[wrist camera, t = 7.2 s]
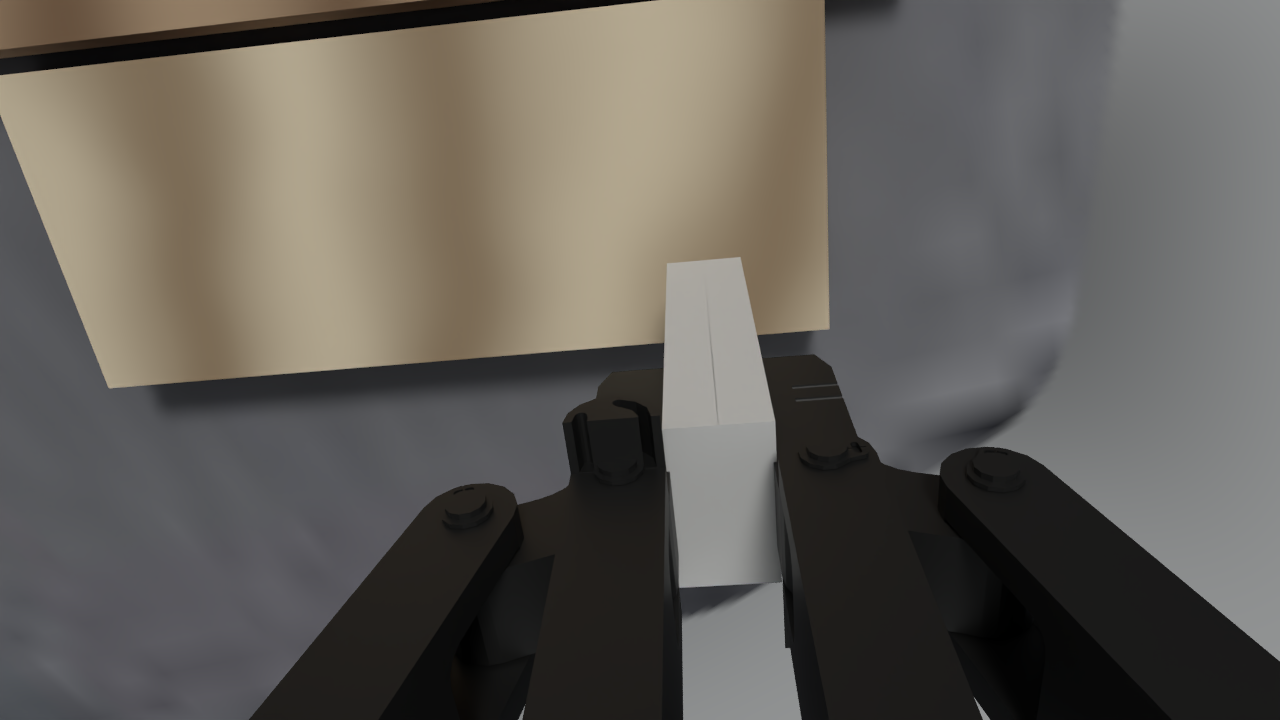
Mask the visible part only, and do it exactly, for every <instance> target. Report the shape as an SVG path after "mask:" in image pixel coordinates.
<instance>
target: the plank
mask: <svg viewBox="0 0 1280 720" xmlns="http://www.w3.org/2000/svg"><path fill="white" fill-rule="evenodd" d="M0 115H1V118H2V121H3V123H4V126H5V128H6V131H7V133H8V136H9V138H10V141H11V143H12V146H13V148H14V151H15V153H16V156H17V158H18V161H19V163H20V166H21V168H22V171H23V173H24V176H25V178H26V181H27V183H28V186H29V189H30V191H31V194H32V196H33V199H34V201H35V204H36V206H37V209H38V211H39V214H40V216H41V219H42V221H43V224H44V226H45V229H46V231H47V234H48V236H49V239H50V241H51V244H52V246H53V249H54V251H55V254H56V256H57V259H58V262H59V264H60V267H61V269H62V272H63V274H64V277H65V279H66V282H67V284H68V287H69V289H70V292H71V294H72V297H73V299H74V302H75V304H76V307H77V309H78V312H79V314H80V317H81V319H82V322H83V324H84V327H85V330H86V332H87V335H88V337H89V340H90V342H91V345H92V347H93V350H94V352H95V355H96V357H97V360H98V362H99V365H100V367H101V370H102V372H103V375H104V377H105V380H106V382H107V385H108V387H109V388H119V387H131V386H143V385H155V384H167V383H180V382H192V381H204V380H216V379H228V378H240V377H253V376H265V375H277V374H289V373H301V372H313V371H326V370H338V369H350V368H362V367H374V366H386V365H399V364H411V363H423V362H435V361H447V360H459V359H472V358H484V357H496V356H508V355H520V354H532V353H545V352H557V351H569V350H581V349H593V348H605V347H618V346H630V345H642V344H654V343H665V310H666V277H667V263H677V262H689V261H700V260H712V259H723V258H734V257H740V258H741V262H742V267H743V272H744V276H745V281H746V286H747V290H748V295H749V300H750V305H751V309H752V314H753V319H754V323H755V328H756V333H757V335H763V334H776V333H788V332H800V331H812V330H824V329H829V271H828V203H827V135H826V67H825V0H656V1H647V2H639V3H630V4H621V5H612V6H603V7H595V8H586V9H577V10H568V11H560V12H551V13H542V14H533V15H525V16H516V17H507V18H498V19H490V20H481V21H472V22H463V23H455V24H446V25H437V26H428V27H419V28H411V29H402V30H393V31H384V32H376V33H367V34H358V35H349V36H341V37H332V38H323V39H314V40H306V41H297V42H288V43H279V44H271V45H262V46H253V47H244V48H236V49H227V50H218V51H209V52H200V53H192V54H183V55H174V56H165V57H157V58H148V59H139V60H130V61H122V62H113V63H104V64H95V65H87V66H78V67H69V68H60V69H52V70H43V71H34V72H25V73H16V74H8V75H0Z"/></svg>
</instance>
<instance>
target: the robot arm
mask: <svg viewBox="0 0 1280 720" xmlns="http://www.w3.org/2000/svg"><path fill="white" fill-rule="evenodd" d="M562 424H563V430H564V435H565V441H566V447H567V453H568V459H569V465H570V471H571V477H570V482H569V486H567V487H566V488H564V489H563V490H561V491H559V492H557V493H555V494H553V495H550V496H547V497H544V498H541V499H538V500H534V501H531V502H527V503H523V504H520V505H517V502H516V499H515V496H514V494H513V493H512V492H510V491H509V490H508V489H506V488H505V487H503V486H498V485H494V484H490V483H486V484H470V485H464V486H460V487H457V488H454V489H452V490H450V491H448V492H446V493H444V494H442V495H440V496H438V497H436V498H435V499H434V500H432V501H431V502H430V503H429V504H428V505H427V506H425V507H424V508H423V510H422V511H421V512H420V513H419V514H418V516H417V517H416V518H415V519H414V520H413V522H412V523H411V524H410V525H409V526H408V528H407V529H406V530H405V531H404V533H403V534H402V535H401V536H400V537H399V539H398V540H397V541H396V542H395V543H394V545H393V546H392V547H391V548H390V550H389V551H388V552H387V553H386V554H385V556H384V557H383V558H382V559H381V560H380V562H379V563H378V564H377V565H376V566H375V568H374V569H373V570H372V571H371V573H370V574H369V575H368V576H367V577H366V579H365V580H364V581H363V582H362V583H361V585H360V586H359V587H358V588H357V590H356V591H355V592H354V593H353V594H352V596H351V597H350V598H349V599H348V600H347V602H346V603H345V604H344V605H343V606H342V608H341V609H340V610H339V611H338V613H337V614H336V615H335V616H334V617H333V619H332V620H331V621H330V622H329V623H328V625H327V626H326V627H325V628H324V629H323V631H322V632H321V633H320V634H319V636H318V637H317V638H316V639H315V640H314V642H313V643H312V644H311V645H310V646H309V648H308V649H307V650H306V651H305V653H304V654H303V655H302V656H301V657H300V659H299V660H298V661H297V662H296V663H295V665H294V666H293V667H292V668H291V669H290V671H289V672H288V673H287V674H286V676H285V677H284V678H283V679H282V680H281V682H280V683H279V684H278V685H277V686H276V688H275V689H274V690H273V691H272V692H271V694H270V695H269V696H268V697H267V699H266V700H265V701H264V702H263V703H262V705H261V706H260V707H259V708H258V709H257V711H256V712H255V713H254V714H253V716H252V717H251V718H250V719H249V720H518V719H519V716H520V714H521V712H522V710H523V708H524V706H525V710H524V715H523V720H683V677H682V611H681V602H680V593H679V588H686V587H704V586H722V585H740V584H758V583H777V582H782V578H781V571H782V577H783V600H784V626H785V648H790V649H791V655H792V661H793V668H794V674H795V680H796V686H797V692H798V699H799V705H800V711H801V717H802V720H983V719H982V716H981V714H980V711H979V709H978V706H977V704H976V702H975V699H976V700H977V702H978V703H979V704H980V706H981V707H982V708H983V710H984V711H985V713H986V714H987V716H988V717H989V718H990V720H1280V661H1278V660H1277V659H1276V658H1275V657H1274V656H1272V655H1271V654H1270V653H1269V652H1268V651H1266V650H1265V649H1264V648H1263V647H1262V646H1260V645H1259V644H1258V643H1257V642H1255V641H1254V640H1253V639H1252V638H1250V636H1248V635H1247V634H1246V633H1245V632H1243V631H1242V630H1241V629H1240V628H1238V627H1237V626H1236V625H1235V624H1234V623H1233V622H1231V621H1230V620H1229V619H1228V618H1227V617H1225V616H1224V615H1223V614H1222V613H1221V612H1219V611H1218V610H1217V609H1216V608H1215V607H1213V606H1212V605H1211V604H1210V603H1209V602H1207V601H1206V600H1205V599H1204V598H1203V597H1201V596H1200V595H1199V594H1198V593H1197V592H1195V591H1194V590H1193V589H1192V588H1191V587H1189V586H1188V585H1187V584H1186V583H1185V582H1183V581H1182V580H1181V579H1180V578H1178V577H1177V576H1176V575H1175V574H1174V573H1172V572H1171V571H1170V570H1169V569H1168V568H1166V567H1165V566H1164V565H1163V564H1162V563H1160V562H1159V561H1158V560H1157V559H1156V558H1154V557H1153V556H1152V555H1151V554H1150V553H1148V552H1147V551H1146V550H1145V549H1144V548H1142V547H1141V546H1140V545H1139V544H1138V543H1136V542H1135V541H1134V540H1133V539H1132V538H1130V537H1129V536H1128V535H1127V534H1125V533H1124V532H1123V531H1122V530H1121V529H1119V528H1118V527H1117V526H1116V525H1115V524H1113V523H1112V522H1111V521H1110V520H1108V519H1107V518H1106V517H1105V516H1104V515H1103V514H1101V513H1100V512H1099V511H1098V510H1097V509H1095V508H1094V507H1093V506H1092V505H1091V504H1089V503H1088V502H1087V501H1086V500H1085V499H1083V498H1082V497H1081V496H1080V495H1078V494H1077V493H1076V492H1075V491H1074V490H1073V489H1071V488H1070V487H1069V486H1068V485H1066V484H1065V483H1064V482H1063V481H1062V480H1061V479H1059V478H1058V477H1057V476H1056V475H1054V474H1053V473H1052V472H1051V471H1050V470H1048V469H1047V468H1046V467H1045V466H1044V465H1042V464H1040V463H1039V462H1037V461H1036V460H1034V459H1032V458H1030V457H1029V456H1027V455H1024V454H1020V453H1018V452H1014V451H1011V450H1008V449H1003V448H994V447H980V448H968V449H964V450H961V451H959V452H956V453H953V454H951V455H950V456H948V457H947V458H946V459H945V460H944V461H943V462H942V463H941V469H940V475H932V474H924V473H916V472H910V471H905V470H900V469H896V468H893V467H890V466H887V465H885V464H883V463H881V462H880V460H879V457H878V455H877V452H876V451H875V450H874V449H873V447H872V446H871V445H870V444H869V443H868V442H866V441H865V440H863V439H861V438H859V437H858V436H857V434H856V431H855V428H854V426H853V423H852V420H851V418H850V415H849V412H848V410H847V407H846V404H845V402H844V399H843V398H842V394H841V391H840V389H839V386H838V385H837V381H836V378H835V375H834V373H833V370H832V367H831V366H829V365H828V364H827V363H825V362H824V361H822V360H821V359H820V358H818V357H817V356H816V355H814V354H813V355H800V356H787V357H774V358H762V356H761V352H760V347H759V342H758V338H757V333H756V328H755V323H754V319H753V314H752V309H751V305H750V300H749V295H748V290H747V286H746V281H745V276H744V272H743V267H742V262H741V258H740V257H734V258H723V259H712V260H700V261H689V262H677V263H667V277H666V310H665V343H664V368H660V369H647V370H634V371H621V372H612V373H611V374H610V375H609V376H608V377H607V378H606V379H605V380H604V381H603V383H602V384H601V385H600V386H599V387H598V392H597V397H596V399H594V400H591V401H589V402H586V403H583V404H581V405H579V406H578V407H576V408H575V409H573V410H572V411H571V412H569V413H568V414H567V416H566V418H565V419H564V421H563V423H562ZM974 697H975V699H974ZM525 704H526V705H525Z"/></svg>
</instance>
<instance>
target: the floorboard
mask: <svg viewBox="0 0 1280 720" xmlns="http://www.w3.org/2000/svg"><path fill="white" fill-rule="evenodd" d="M494 1H503V0H0V59H2V58H10V57H19V56H28V55H36V54H45V53H53V52H62V51H71V50H79V49H88V48H97V47H105V46H114V45H123V44H131V43H140V42H148V41H157V40H166V39H174V38H183V37H192V36H200V35H209V34H218V33H226V32H235V31H243V30H252V29H261V28H269V27H278V26H287V25H295V24H304V23H313V22H321V21H330V20H338V19H347V18H356V17H364V16H373V15H382V14H390V13H399V12H408V11H416V10H425V9H433V8H442V7H451V6H459V5H468V4H477V3H485V2H494Z"/></svg>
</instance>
